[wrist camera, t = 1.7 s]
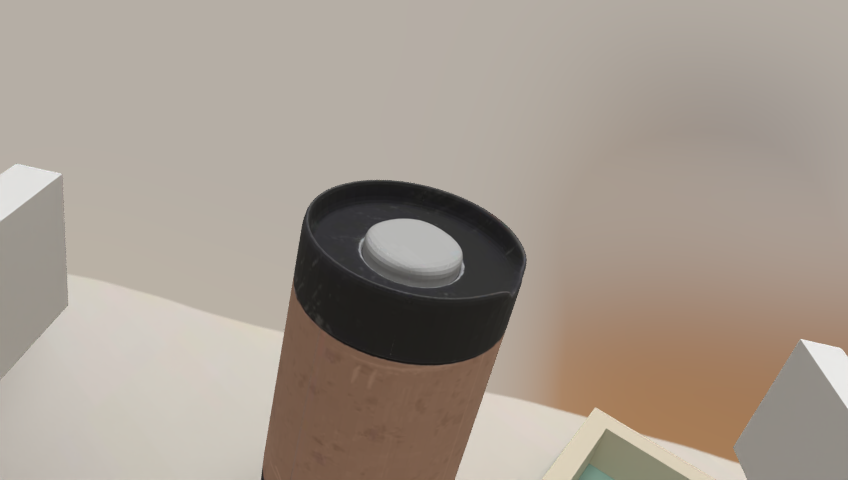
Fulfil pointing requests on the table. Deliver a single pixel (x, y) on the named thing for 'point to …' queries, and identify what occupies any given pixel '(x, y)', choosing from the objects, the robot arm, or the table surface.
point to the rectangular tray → (617, 455)
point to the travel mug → (389, 333)
